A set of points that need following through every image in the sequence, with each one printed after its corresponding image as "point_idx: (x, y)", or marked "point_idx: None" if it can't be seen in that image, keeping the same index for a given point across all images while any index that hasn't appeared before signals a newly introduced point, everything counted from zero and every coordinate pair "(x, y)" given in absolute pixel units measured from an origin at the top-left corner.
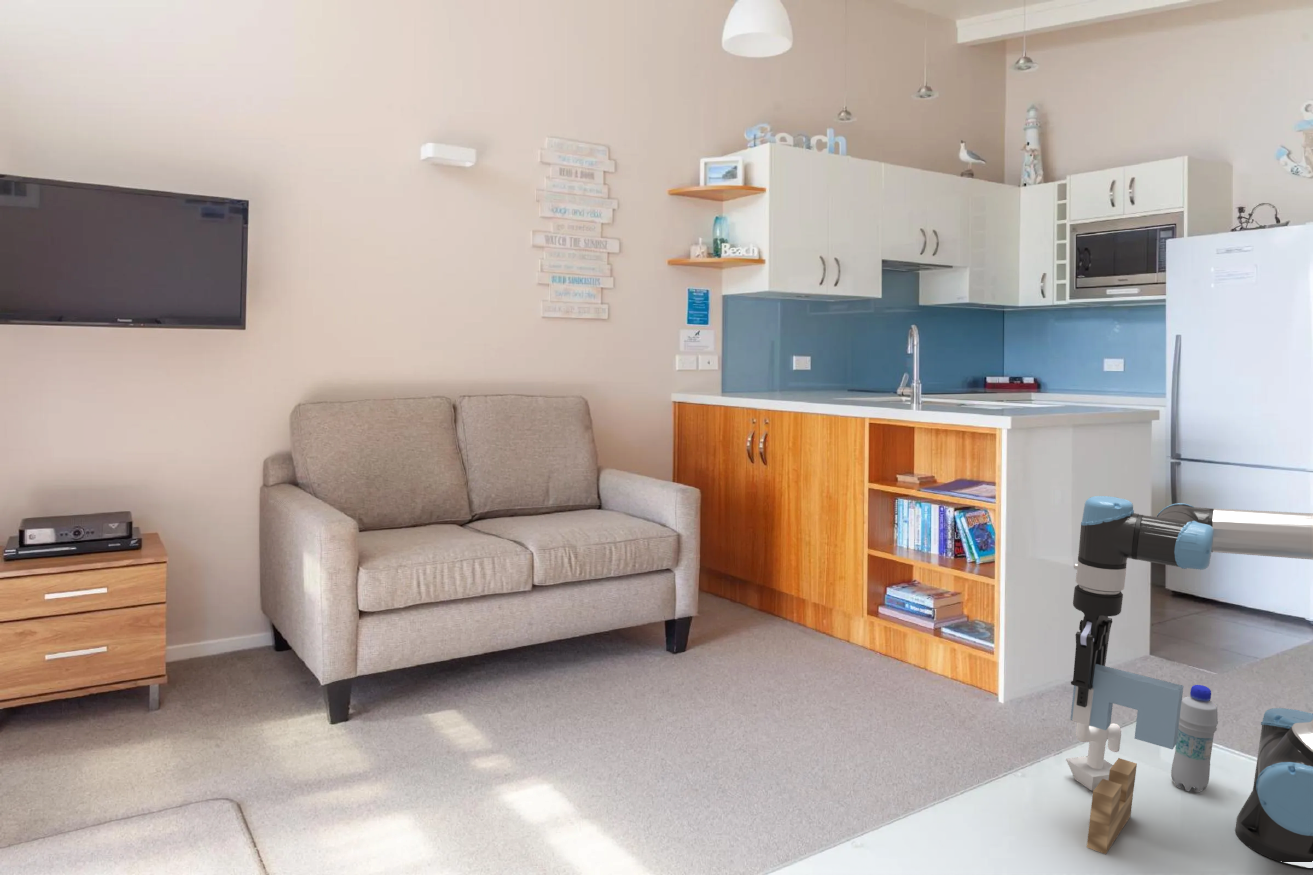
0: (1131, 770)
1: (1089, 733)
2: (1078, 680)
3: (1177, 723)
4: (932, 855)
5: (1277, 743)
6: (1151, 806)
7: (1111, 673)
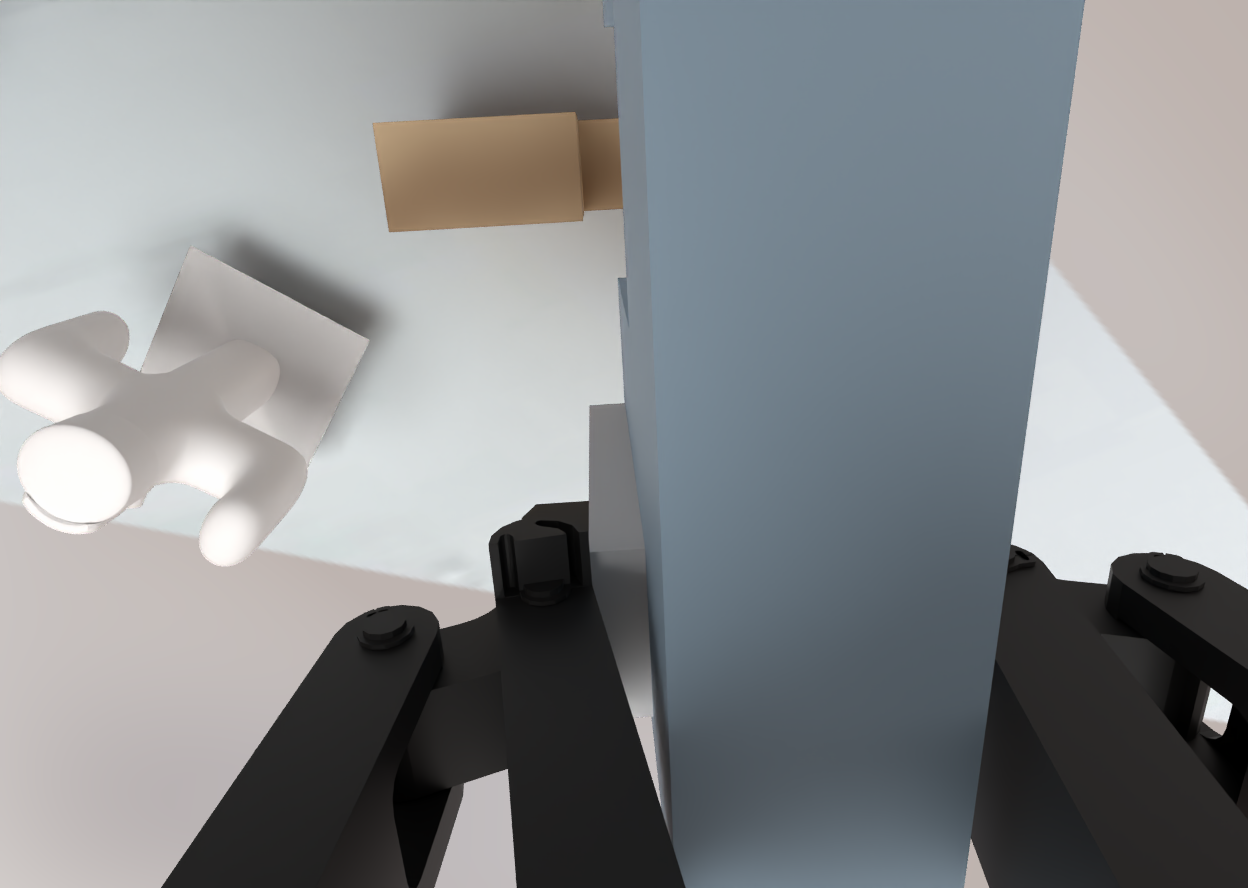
0: (495, 118)
1: (262, 451)
2: (1198, 717)
3: None
4: (1209, 544)
5: None
6: (263, 89)
7: (1011, 448)
